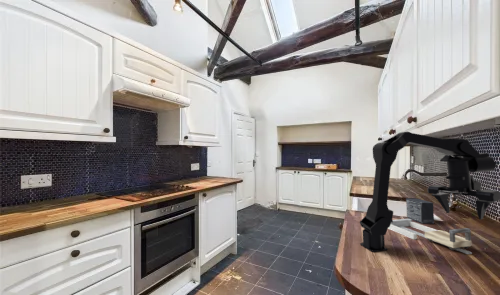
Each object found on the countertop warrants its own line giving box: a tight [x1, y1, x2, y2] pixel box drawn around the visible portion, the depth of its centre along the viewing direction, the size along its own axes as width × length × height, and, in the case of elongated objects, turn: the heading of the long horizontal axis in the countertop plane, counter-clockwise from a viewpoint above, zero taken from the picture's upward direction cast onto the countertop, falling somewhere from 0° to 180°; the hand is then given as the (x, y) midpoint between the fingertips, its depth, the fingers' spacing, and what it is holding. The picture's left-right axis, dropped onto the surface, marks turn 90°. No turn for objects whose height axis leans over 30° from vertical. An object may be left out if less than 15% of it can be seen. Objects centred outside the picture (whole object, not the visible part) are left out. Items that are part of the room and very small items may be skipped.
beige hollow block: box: [423, 227, 473, 251], centre depth 78 cm, size 8×10×7 cm
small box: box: [405, 197, 435, 225], centre depth 106 cm, size 11×6×10 cm, turn 179°
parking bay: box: [387, 218, 473, 255], centre depth 85 cm, size 14×29×3 cm, turn 9°
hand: (463, 215), depth 75 cm, fingers open, 9 cm apart
